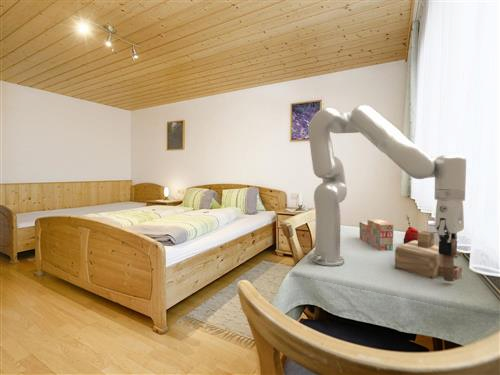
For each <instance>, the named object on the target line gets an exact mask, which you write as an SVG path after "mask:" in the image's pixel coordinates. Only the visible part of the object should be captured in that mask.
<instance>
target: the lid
mask: <svg viewBox="0 0 500 375" xmlns="http://www.w3.org/2000/svg"><path fill="white" fill-rule="evenodd" d="M434 236H435V232H430V231H427V230H423V231H420V232H419V231H418V240H414V241H411V242H408V243H406V244H404V243H403V244H400V245H398V246H395V249H396V250H400V251H404V252H409V253H413V254H418V255H422V256H426V257H431V258H436V257H438V256H440V255H443V254H439V244H434ZM459 256H460V257H462V256H463V252H461V251H457V252H456V255H454V259H458V258H459Z"/></svg>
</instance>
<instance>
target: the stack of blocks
mask: <svg viewBox="0 0 500 375" xmlns="http://www.w3.org/2000/svg"><path fill="white" fill-rule="evenodd" d="M358 224H359V239H360V240H361V241H363V243H366V244H368V245H369V246H370V247H372V248H375V249H376V250H377V251H378V252H379V251H381V252H382V251H384V252H385V251H386V252H387V251H389V252H390V251H392V252H393V248H394V245H393V244H394V243H393V242H394V227H395V226H394V224H393V223H390V222H389V221H386V220H382V219H379V218H377V219H376V218H375V219H374V218H373V219H372V218H371V219H369V218H368V219H367V221H359V223H358Z"/></svg>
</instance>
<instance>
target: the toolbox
mask: <svg viewBox="0 0 500 375" xmlns="http://www.w3.org/2000/svg"><path fill="white" fill-rule="evenodd" d="M394 250H395V251H394V253H395V254H394V269H397V270H400V271H404V272H407V273H410V274H415V275H418V276H422V277H425V278H429V279H434V278H436V277H437V276H442V277H443V255H440V256H438V257H436V258H431V257H426V256H422V255H418V254H413V253H409V252H404V251H400V250H396V248H395V249H394ZM462 273H463V267H462V266H458V265H454V280H458V279H460V278H461V277H462V275H463V274H462Z"/></svg>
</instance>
